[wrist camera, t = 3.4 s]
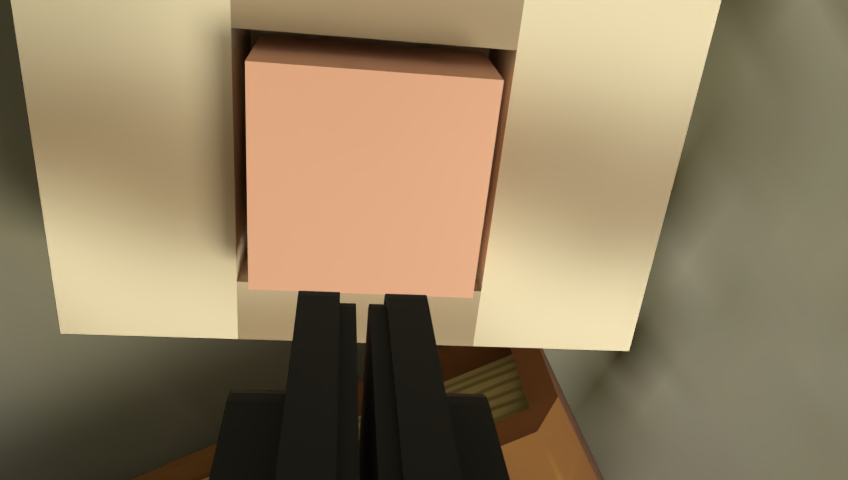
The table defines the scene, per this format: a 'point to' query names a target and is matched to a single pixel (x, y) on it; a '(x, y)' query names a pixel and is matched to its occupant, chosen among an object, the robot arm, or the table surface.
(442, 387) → the robot arm
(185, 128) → the beige flat block
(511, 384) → the diary
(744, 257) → the table surface
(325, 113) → the key terracotta
